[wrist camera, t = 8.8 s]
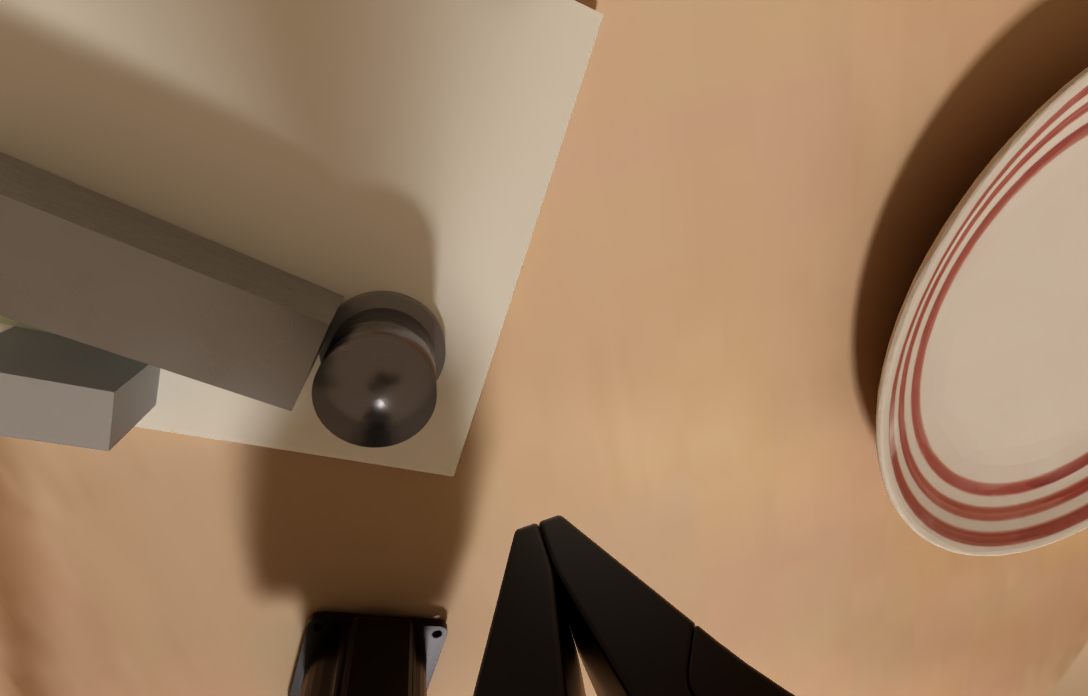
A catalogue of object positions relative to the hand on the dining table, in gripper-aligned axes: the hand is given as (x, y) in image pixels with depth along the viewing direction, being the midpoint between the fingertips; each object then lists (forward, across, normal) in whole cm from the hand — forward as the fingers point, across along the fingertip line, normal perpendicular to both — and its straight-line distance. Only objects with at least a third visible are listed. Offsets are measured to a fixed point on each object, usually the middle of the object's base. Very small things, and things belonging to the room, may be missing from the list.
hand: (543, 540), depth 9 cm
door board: (+13, +6, -7) cm, 16 cm away
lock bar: (+11, +8, -4) cm, 14 cm away
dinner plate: (+13, -30, +8) cm, 34 cm away
